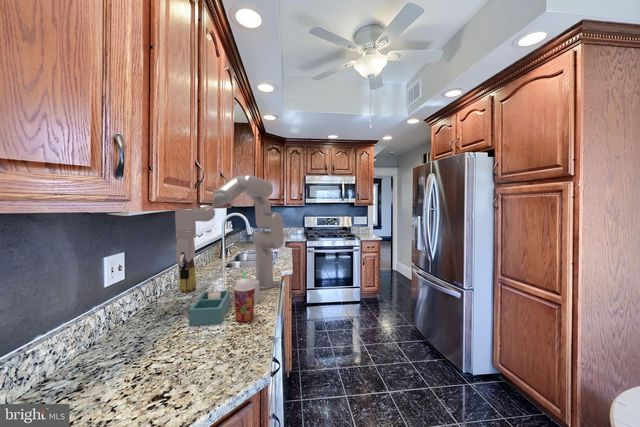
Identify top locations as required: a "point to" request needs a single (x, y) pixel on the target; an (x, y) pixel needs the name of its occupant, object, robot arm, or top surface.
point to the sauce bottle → (190, 283)
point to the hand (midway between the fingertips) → (187, 276)
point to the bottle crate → (209, 309)
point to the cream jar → (214, 295)
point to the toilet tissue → (256, 284)
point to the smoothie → (244, 299)
